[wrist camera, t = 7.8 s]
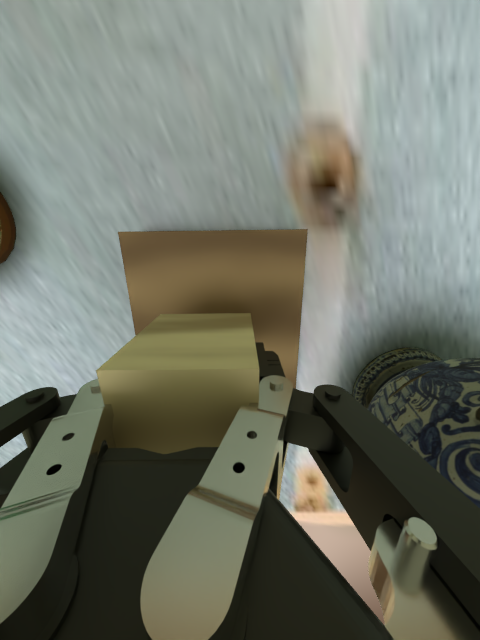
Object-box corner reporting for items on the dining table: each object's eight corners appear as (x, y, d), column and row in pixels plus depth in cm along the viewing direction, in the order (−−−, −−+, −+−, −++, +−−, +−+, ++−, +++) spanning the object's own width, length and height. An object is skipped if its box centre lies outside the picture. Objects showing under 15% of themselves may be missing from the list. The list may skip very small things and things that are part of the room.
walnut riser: (140, 234, 21) (118, 231, 17) (294, 232, 21) (307, 229, 17) (159, 370, 25) (145, 392, 21) (286, 368, 25) (295, 390, 21)
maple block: (160, 314, 13) (96, 370, 7) (250, 312, 13) (259, 368, 7) (170, 390, 14) (124, 488, 9) (250, 390, 14) (257, 486, 9)
